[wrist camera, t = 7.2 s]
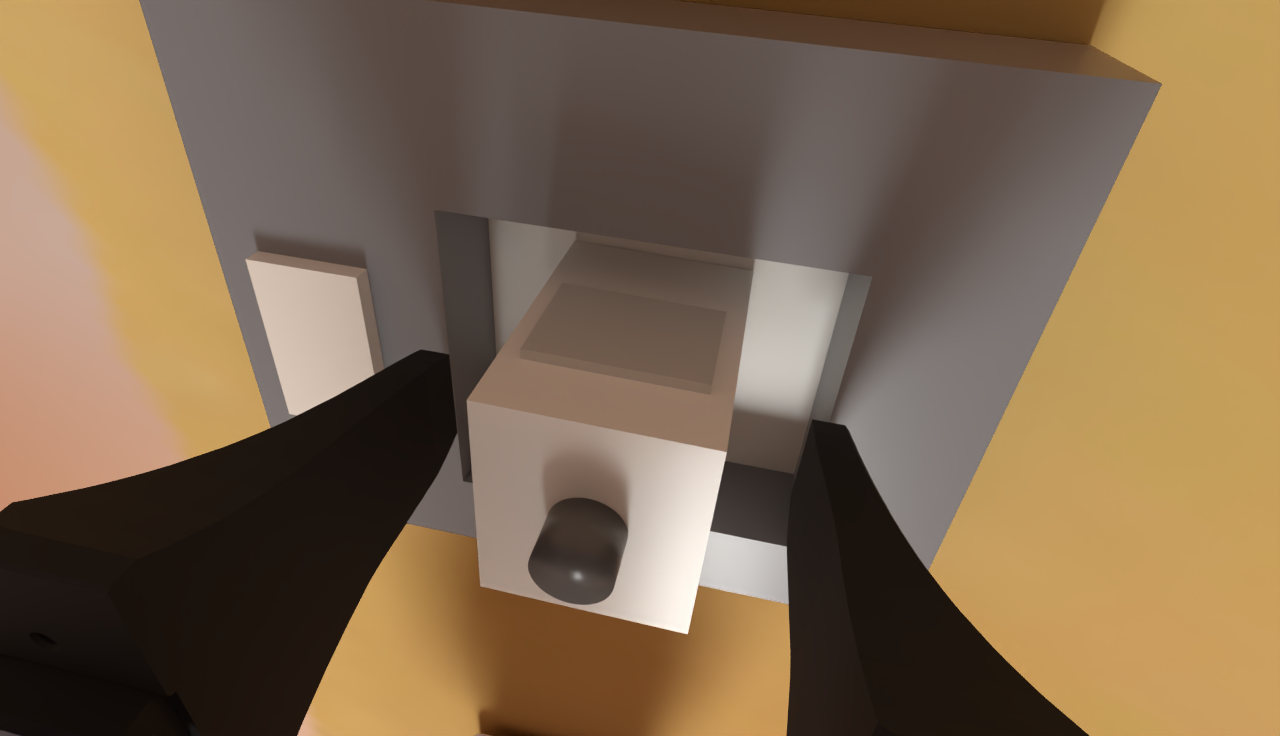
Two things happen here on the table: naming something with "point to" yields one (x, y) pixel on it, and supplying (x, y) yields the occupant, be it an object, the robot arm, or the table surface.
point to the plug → (609, 434)
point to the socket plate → (656, 210)
